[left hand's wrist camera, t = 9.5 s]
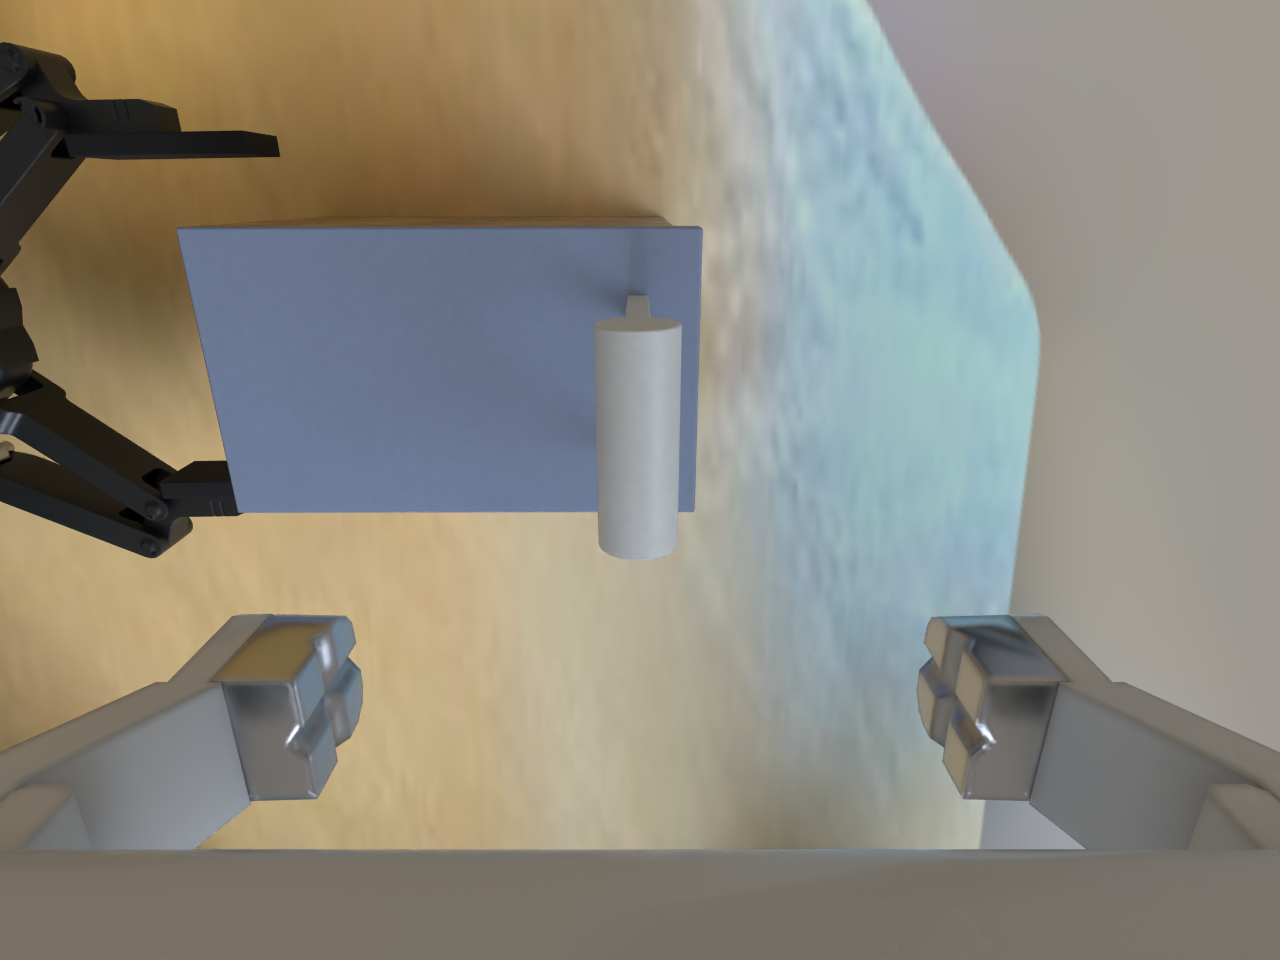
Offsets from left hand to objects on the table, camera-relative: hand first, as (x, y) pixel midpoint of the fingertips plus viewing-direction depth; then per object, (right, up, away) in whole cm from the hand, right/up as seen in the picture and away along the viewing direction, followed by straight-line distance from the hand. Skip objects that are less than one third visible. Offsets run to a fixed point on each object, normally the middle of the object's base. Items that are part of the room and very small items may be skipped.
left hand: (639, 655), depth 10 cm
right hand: (-14, +9, +20) cm, 26 cm away
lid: (-7, +6, +16) cm, 19 cm away
